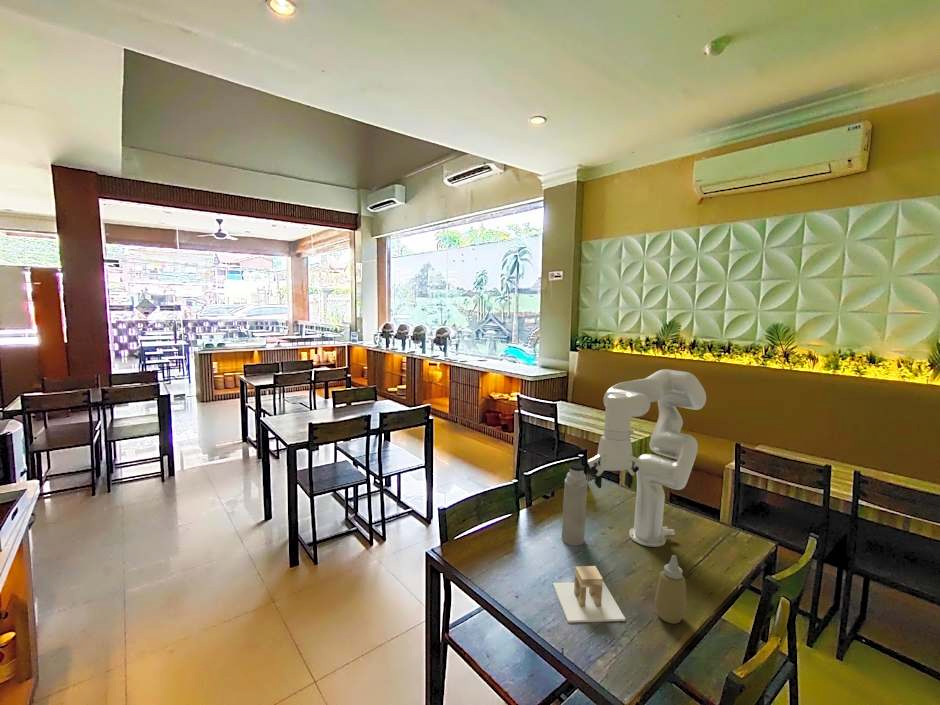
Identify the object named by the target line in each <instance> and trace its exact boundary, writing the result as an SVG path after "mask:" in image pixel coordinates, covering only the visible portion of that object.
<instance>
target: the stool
mask: <svg viewBox="0 0 940 705" xmlns="http://www.w3.org/2000/svg"><path fill="white" fill-rule="evenodd" d="M574 567H575V570H574V582H575V584H574V594H575V596H579V605H580V607H585V602H586V587H589V593H590V595H591V596H595V605H596V607H601V600H602V585H603V582H604V578H603V577H602V575H601V573H600V571H599V570H598V568H597V566H596V565H583V566H582V565H581V566H577V565H576V566H574Z"/></svg>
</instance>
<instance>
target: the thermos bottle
mask: <svg viewBox="0 0 940 705" xmlns="http://www.w3.org/2000/svg"><path fill="white" fill-rule="evenodd" d="M584 471H585V467H584V465H582V464H580V463H571V464H570V465H569V471H568V472H567V473H566V478H564V489H563V504H562V506H563V507H562V524H561V525H562V526H561V540H562V541H563V543H565V544H567V545H570V546H581V545H583V544H584V542H585V531H586V518H587V516H586V512H587V500H588V499H587V495H588V480H587V475H586V474H585V473H584Z"/></svg>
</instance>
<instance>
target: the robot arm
mask: <svg viewBox="0 0 940 705" xmlns="http://www.w3.org/2000/svg"><path fill="white" fill-rule="evenodd" d="M655 402H657V407H658V417H657V418H658V419H657V422H656V423H655V426H654V428H653V431H652V434H651V437H650V440H649V444H648V445H649V449H650V450H651V452H654V453H655V454H651V453H643V454H641V455H639V456H638V457H635V456H633V444H632V439H631V436H632V435H633V436H634V433H635V432H634V430H632V429H631V428H630V427H631V418H634V417H635V418H637V417H642V416H645V415H646V414H647V413H648V412H649V410H650V408H651V403H655ZM706 402H707V393H706V391H705V389H704V387H703V385H702V383H701V382H700V380H699V379H698V378H697V376H695V374H693V373H691V372H688V371H682V370H673V369H666V368H663V369H660V370H657V371H655V372H654V373H651V375H649V376H647V377H645V378H641V379H640V378H639V379H633V380H628V381H622V382H619V383H616V384H614V385H612V386H611V387H609V388H608V389H607V391H606V392H605V393H604V396H603V404H604V407H605V412H604V413H605V414H604V430H603V435H602V436H600V438H599V439H600V440H599V442H598V447H597V453H596V454H597V455H595V456H594V457H592V458H590V459H588V460H587V464H588V467H589V469H590V470H591V471H592V472H593V473H594V482H593V483H594V485H595V486H596V487H597V488H598V489H601V488H602V481H603V479H602V478H603V477H602V474H603V473H604V471H626V472H625V474H624V476H625V477H624V484H625V486H627V488H629V489H631V488H632V484H633V479H634V478H633V477H634V476H635V474H636V497H635V510H634V522H633V524H634V525H633V527H632V528H630V529H629V530H628V531H629V532H628V534H629V537H630V539H631V540H632V541H634V542H635V543H637V544H639V545H642V546H645V547H651V548H659V547H662V546H664V545H665V544H666V541H667V539H666V538H667V535H668V536H674V535H675V534H676V532H675V529H673V528H669V527H668V526H663V522H664V509H665V500H666V499H665V497H666V495H665V490H664V488H663V487H667V488H669V489H672V490H677V491H680V490H683V489H684V488H685V487H686V485H687V484H688V480H689V479H690V474H691V472H692V469H693V466H694V463H695V460H696V457H697V455H698V450H699V449H698V447H699V446H698V444H699V443H698V441H697V439H696V438H695V437H694V436H692V435H690V434H687V433H682V432H681V431H682V427H683V424H684V421H683V418H682V415H681V414H680V412H679V410H678V409H677V407H679V408H684V409H688V410H692V411H693V410H695V411H697V410H701V409H702V408H704V406H705V405H706ZM657 454H658V455H657ZM660 455H661V456H660ZM664 456H665V457H664ZM669 458H672V459H669ZM673 459H676V460H673ZM633 462H634V465H633ZM595 463H596V465H597V466H596V467H595Z"/></svg>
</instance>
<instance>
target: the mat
mask: <svg viewBox="0 0 940 705" xmlns="http://www.w3.org/2000/svg"><path fill="white" fill-rule="evenodd" d="M574 584H575V581H574V582H573V581H570V582H552V586H553V589H554V591H555V593H556V596H557V599H558V601H559V604H560V606H561V609H562V612H563V615H564V616H565V619H566V622H567V623H570V624H572V623H597V622H602V623H604V622H626V617H625V615H624V614H623V613H622V610H621V609H620V607H619V606H618V604H617V602H616V600H615V599H614V597H613V595H612V593H611V592H610V589H609V588H608V587H607V585H606V583H605V582H604V581H603V585H602V600H601V607H596V605H595V596H591V595H590V593H589V587H586V602H585V607H580V605H579V596H575V594H574Z"/></svg>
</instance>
